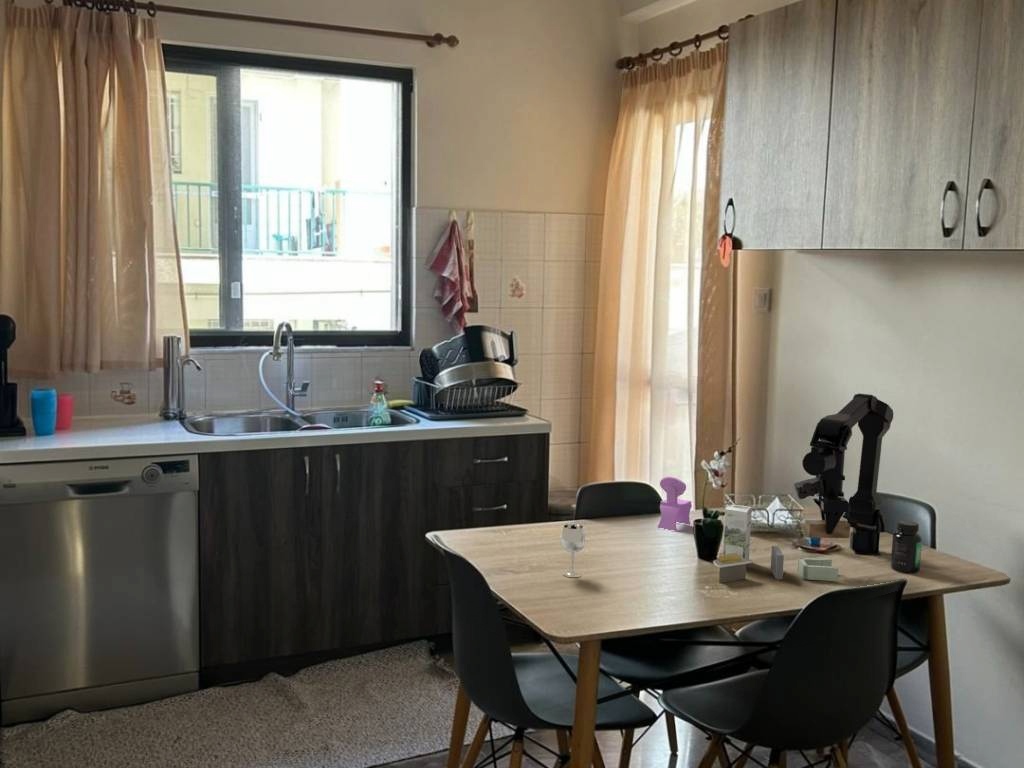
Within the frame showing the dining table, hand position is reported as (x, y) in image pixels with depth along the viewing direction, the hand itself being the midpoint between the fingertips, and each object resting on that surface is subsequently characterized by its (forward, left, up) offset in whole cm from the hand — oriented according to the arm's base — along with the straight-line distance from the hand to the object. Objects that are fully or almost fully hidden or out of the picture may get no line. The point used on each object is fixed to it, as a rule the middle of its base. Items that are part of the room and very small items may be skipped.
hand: (827, 531), depth 249 cm
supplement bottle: (-21, -5, -10) cm, 24 cm away
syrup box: (+21, -4, -10) cm, 24 cm away
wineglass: (+62, +12, -10) cm, 64 cm away
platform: (+24, +10, -11) cm, 29 cm away
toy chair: (+34, -37, -10) cm, 51 cm away
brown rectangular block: (0, 0, -1) cm, 1 cm away
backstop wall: (+12, +4, -10) cm, 17 cm away
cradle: (+3, +4, -10) cm, 11 cm away
